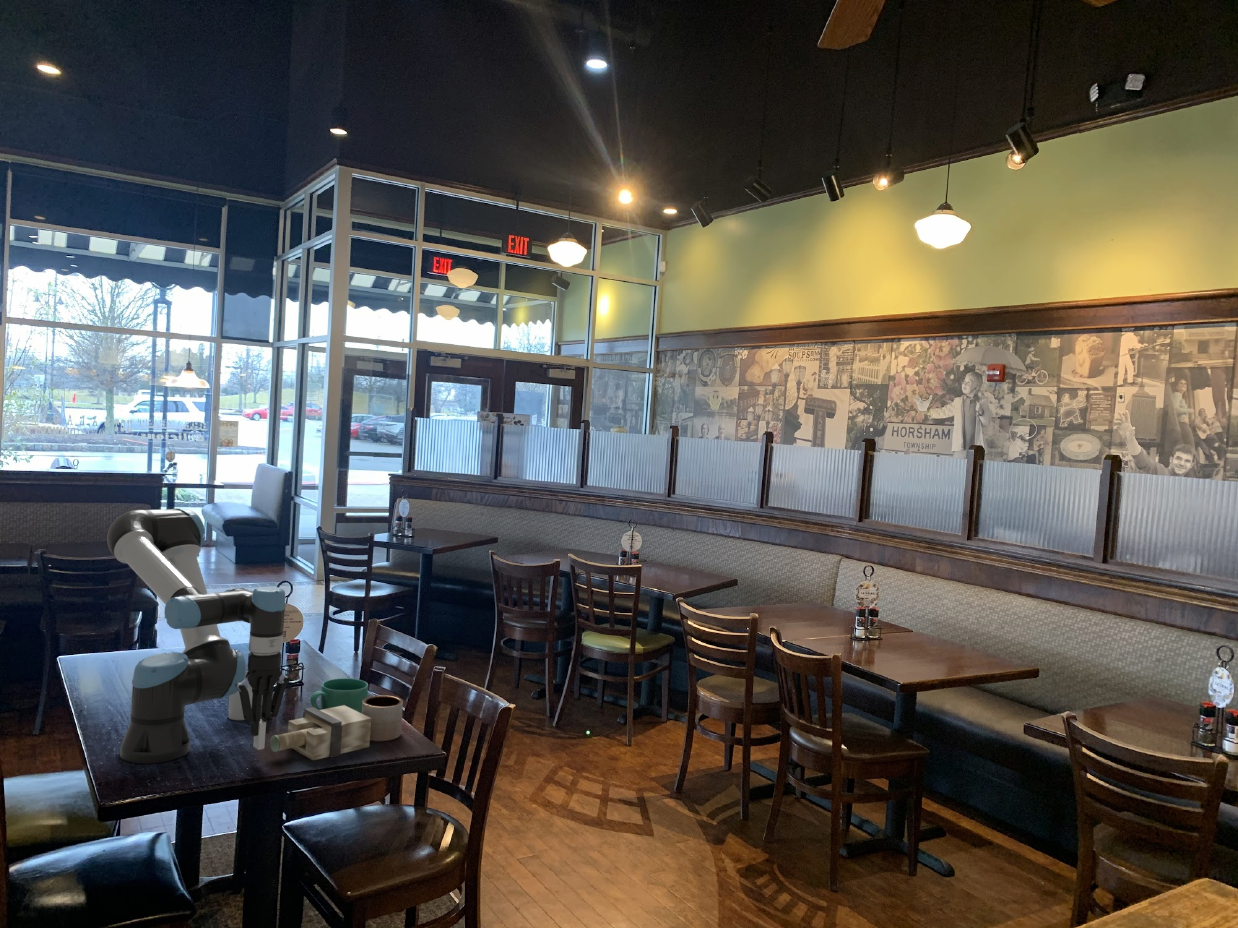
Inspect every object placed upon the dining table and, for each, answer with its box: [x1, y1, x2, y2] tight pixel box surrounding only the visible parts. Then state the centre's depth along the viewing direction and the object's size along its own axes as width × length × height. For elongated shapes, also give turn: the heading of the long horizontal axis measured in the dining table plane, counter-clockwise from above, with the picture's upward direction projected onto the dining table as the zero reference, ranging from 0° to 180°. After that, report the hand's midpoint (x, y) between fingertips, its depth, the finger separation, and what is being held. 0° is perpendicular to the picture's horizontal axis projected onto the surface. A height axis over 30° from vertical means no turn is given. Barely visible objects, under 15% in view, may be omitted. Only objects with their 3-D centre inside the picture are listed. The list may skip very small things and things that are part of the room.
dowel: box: [269, 726, 323, 753], centre depth 220 cm, size 14×4×4 cm, turn 139°
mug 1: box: [227, 670, 263, 721], centre depth 243 cm, size 10×7×12 cm, turn 127°
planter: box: [362, 694, 404, 743], centre depth 236 cm, size 11×11×10 cm
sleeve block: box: [287, 705, 371, 761], centre depth 226 cm, size 16×15×9 cm
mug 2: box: [310, 677, 369, 713], centre depth 248 cm, size 17×12×10 cm
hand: (258, 747), depth 212 cm, fingers closed
